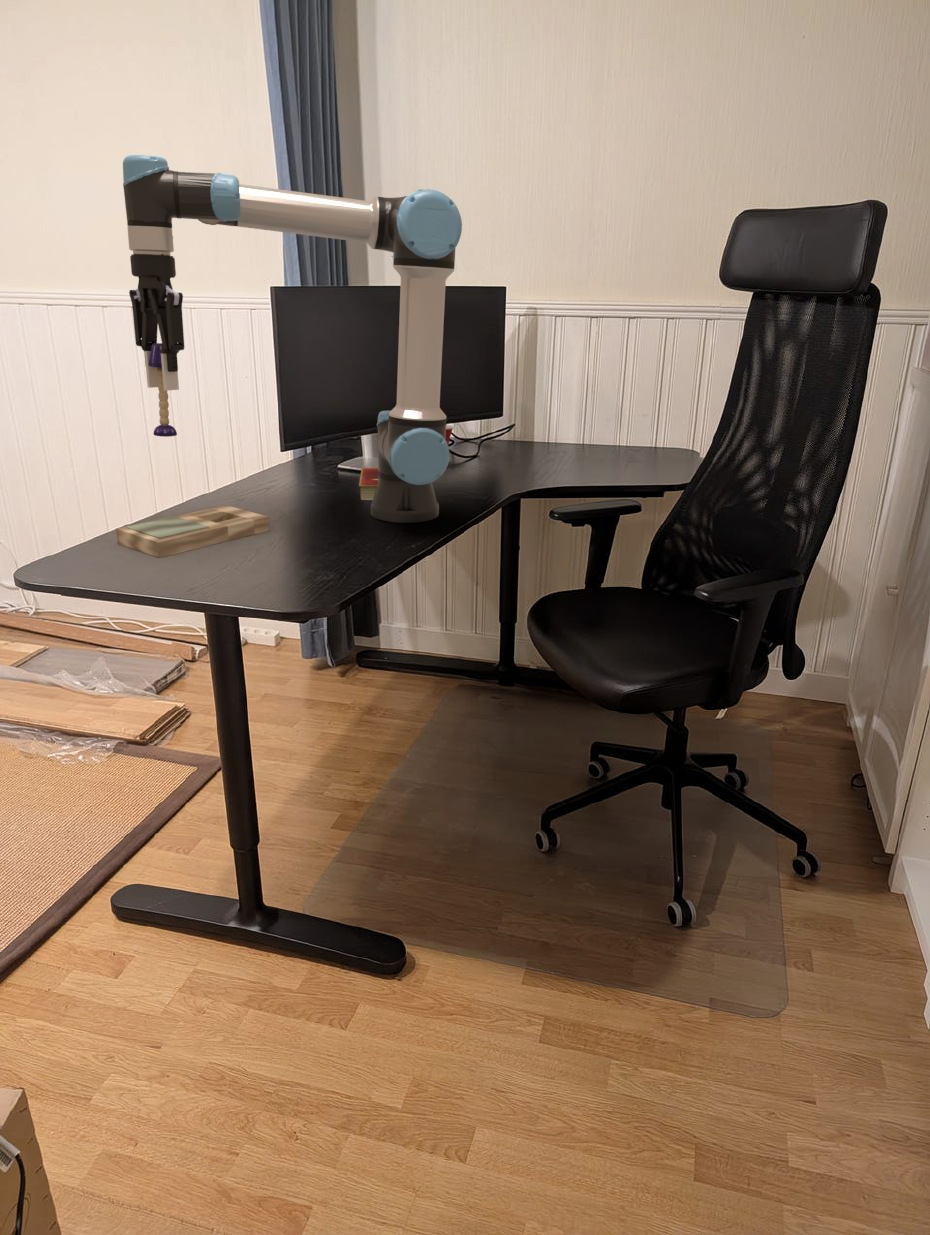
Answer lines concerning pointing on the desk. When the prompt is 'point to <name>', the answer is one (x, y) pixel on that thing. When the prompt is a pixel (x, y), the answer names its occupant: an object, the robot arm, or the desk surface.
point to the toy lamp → (161, 394)
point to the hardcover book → (368, 483)
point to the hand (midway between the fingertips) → (163, 388)
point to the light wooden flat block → (191, 530)
